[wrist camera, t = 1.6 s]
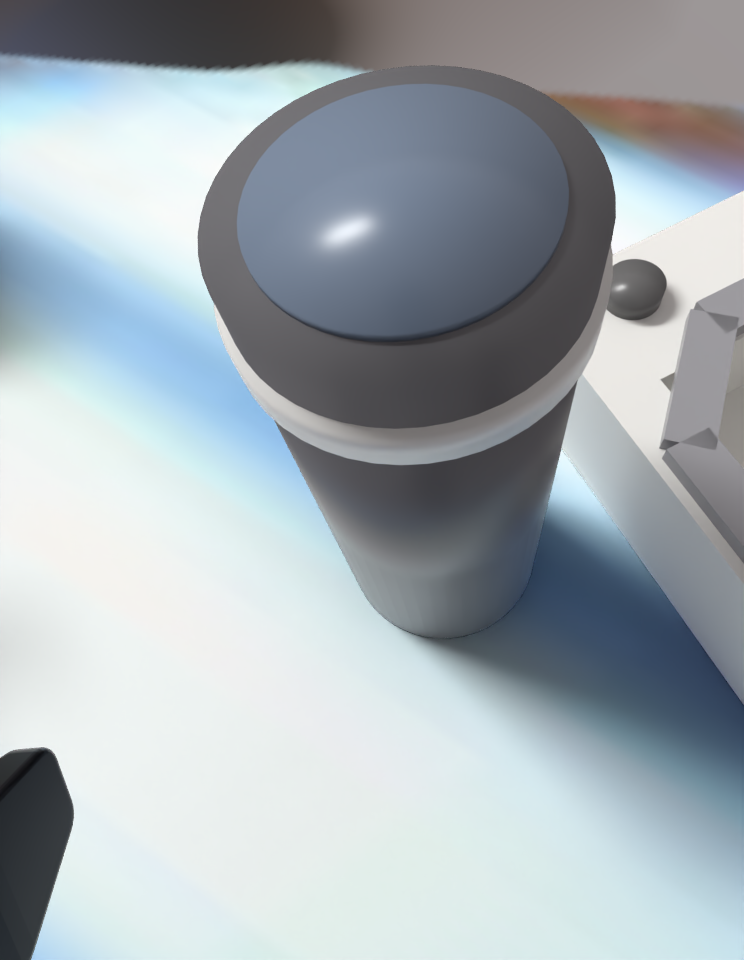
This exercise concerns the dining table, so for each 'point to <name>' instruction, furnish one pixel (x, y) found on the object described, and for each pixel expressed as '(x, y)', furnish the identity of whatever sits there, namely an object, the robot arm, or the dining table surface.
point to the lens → (417, 319)
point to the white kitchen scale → (675, 420)
